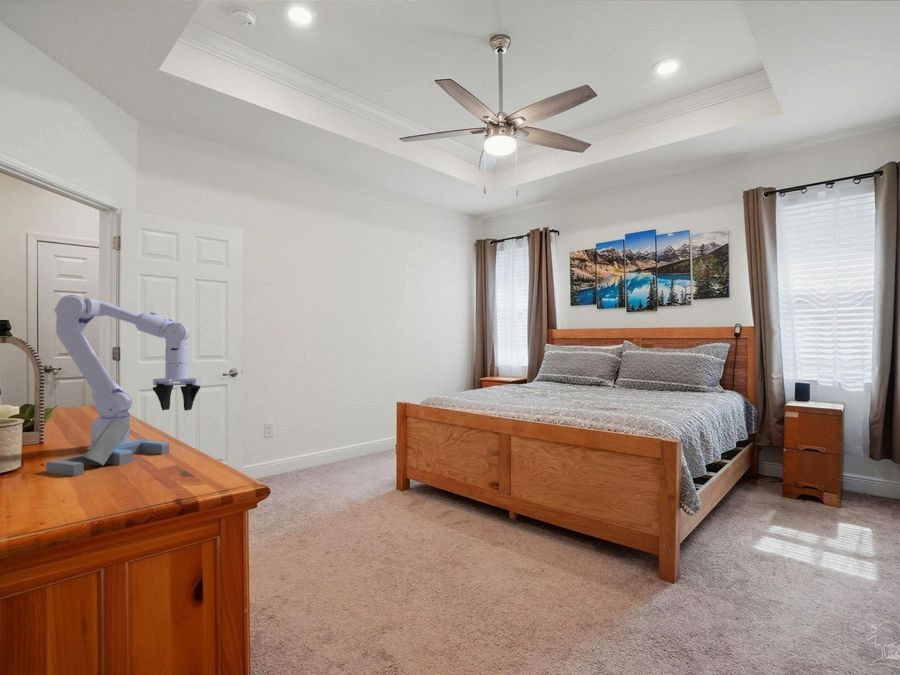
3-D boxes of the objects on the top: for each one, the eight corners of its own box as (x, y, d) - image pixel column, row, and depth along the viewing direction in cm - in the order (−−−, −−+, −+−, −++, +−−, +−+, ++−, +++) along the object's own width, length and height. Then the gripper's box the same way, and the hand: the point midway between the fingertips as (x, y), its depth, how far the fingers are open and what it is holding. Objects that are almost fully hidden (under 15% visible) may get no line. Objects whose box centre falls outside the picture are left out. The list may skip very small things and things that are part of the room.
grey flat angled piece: (46, 472, 108) (46, 461, 108) (143, 451, 130) (143, 442, 130) (73, 476, 104) (73, 464, 105) (169, 454, 126) (169, 444, 126)
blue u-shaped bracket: (92, 452, 118) (92, 448, 118) (143, 442, 130) (143, 438, 130) (119, 455, 114) (119, 451, 114) (169, 444, 126) (169, 440, 126)
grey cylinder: (106, 468, 113) (133, 430, 119) (95, 460, 109) (123, 421, 116) (90, 464, 114) (117, 426, 120) (78, 456, 110) (107, 418, 116)
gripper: (144, 364, 135) (144, 411, 135) (187, 363, 133) (187, 412, 132) (163, 363, 142) (164, 408, 142) (205, 363, 139) (205, 408, 139)
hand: (176, 409), depth 138 cm, fingers open, 7 cm apart
